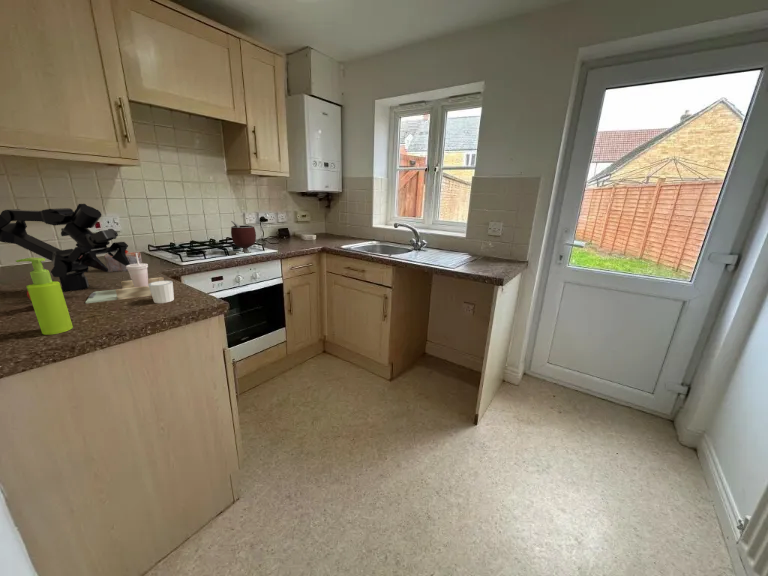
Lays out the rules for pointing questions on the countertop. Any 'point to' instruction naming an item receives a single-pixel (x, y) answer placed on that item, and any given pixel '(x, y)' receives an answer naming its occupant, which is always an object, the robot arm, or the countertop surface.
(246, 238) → the mate gourd
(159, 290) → the white ramekin
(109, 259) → the food item
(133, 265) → the smoothie
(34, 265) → the soap dispenser
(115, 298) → the pale green flat block
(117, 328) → the countertop surface
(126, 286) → the wooden serving board
